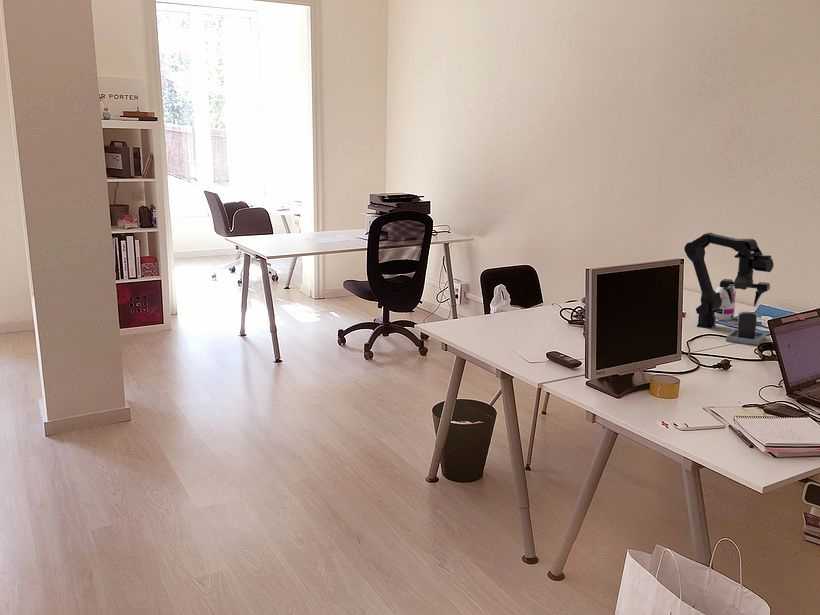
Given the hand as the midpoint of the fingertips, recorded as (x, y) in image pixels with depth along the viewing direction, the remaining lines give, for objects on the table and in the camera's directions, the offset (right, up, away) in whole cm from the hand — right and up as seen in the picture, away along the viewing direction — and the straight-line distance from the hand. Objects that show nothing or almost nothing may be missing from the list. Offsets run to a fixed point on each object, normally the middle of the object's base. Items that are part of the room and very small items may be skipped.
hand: (743, 304), depth 296 cm
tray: (-1, -15, -5) cm, 16 cm away
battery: (-1, -14, -5) cm, 15 cm away
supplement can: (+4, -7, +28) cm, 29 cm away
